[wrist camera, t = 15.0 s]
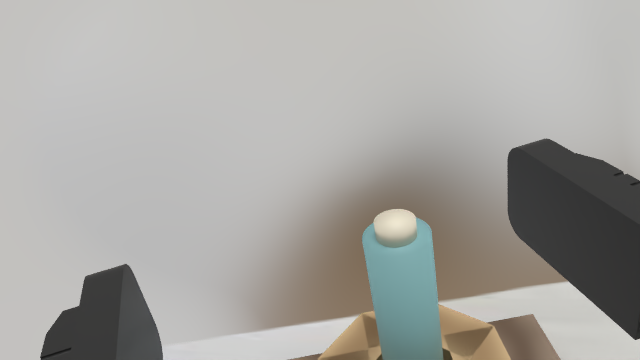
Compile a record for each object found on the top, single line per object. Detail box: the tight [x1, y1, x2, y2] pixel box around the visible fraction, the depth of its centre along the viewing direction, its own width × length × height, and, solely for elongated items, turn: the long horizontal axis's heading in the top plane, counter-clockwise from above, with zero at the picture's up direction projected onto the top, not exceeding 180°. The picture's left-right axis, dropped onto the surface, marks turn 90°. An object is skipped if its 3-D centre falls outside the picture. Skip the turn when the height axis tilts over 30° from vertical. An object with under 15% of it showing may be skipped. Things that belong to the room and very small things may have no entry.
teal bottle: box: [362, 209, 444, 360], centre depth 34 cm, size 4×4×16 cm
